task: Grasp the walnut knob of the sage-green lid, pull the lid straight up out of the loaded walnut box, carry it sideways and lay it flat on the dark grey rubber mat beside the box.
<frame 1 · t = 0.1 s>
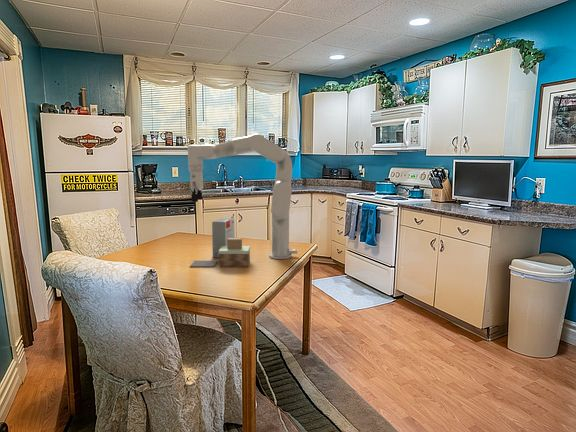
hand: (197, 200, 198), 31 cm above the table, tool pointing down, fingers open, 9 cm apart
crate: (235, 264, 188), on the table
lid: (234, 251, 187), point 7 cm above the table, touching crate
hard drive box: (224, 254, 208), on the table
mat: (204, 264, 188), on the table
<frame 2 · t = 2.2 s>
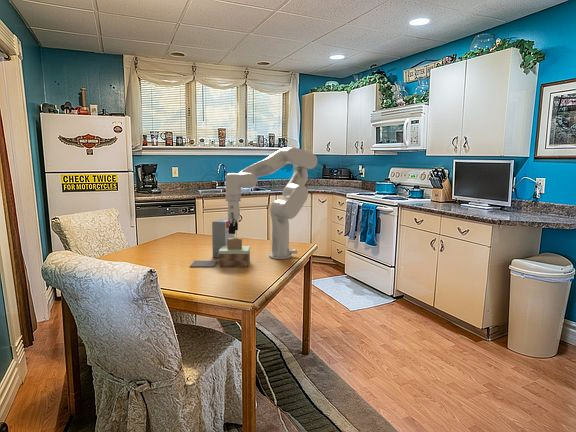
hand: (233, 231, 185), 17 cm above the table, tool pointing down, fingers open, 9 cm apart
nothing on the table moved.
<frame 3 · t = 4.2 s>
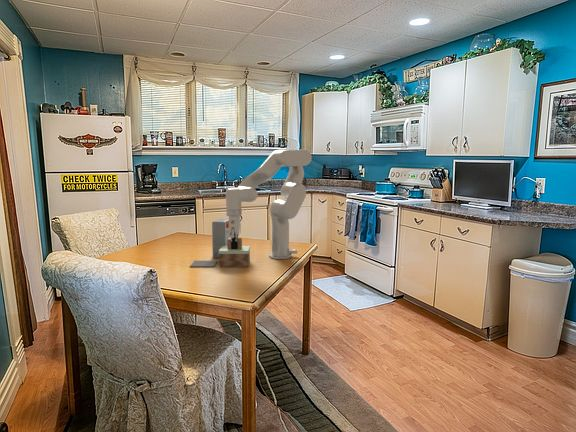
hand: (234, 247, 187), 9 cm above the table, tool pointing down, fingers closed on lid, 3 cm apart
lid: (234, 251, 187), point 7 cm above the table, touching crate, gripper
everything else where it was.
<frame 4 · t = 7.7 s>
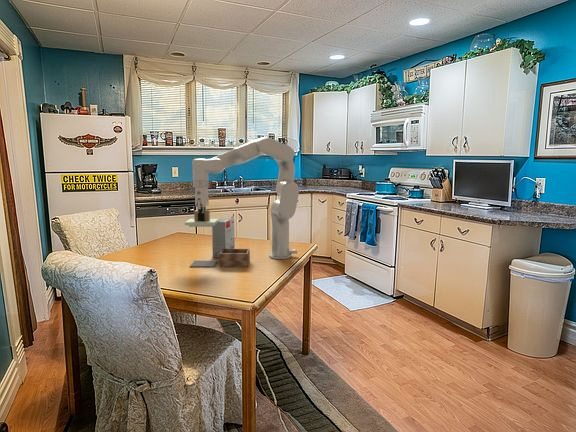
hand: (202, 220, 184), 23 cm above the table, tool pointing down, fingers closed on lid, 3 cm apart
lid: (202, 223, 185), point 21 cm above the table, touching gripper
everything else where it was.
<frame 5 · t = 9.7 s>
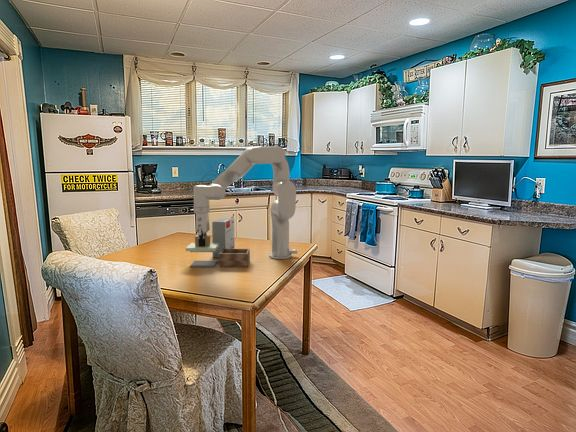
hand: (202, 245, 186), 10 cm above the table, tool pointing down, fingers closed on lid, 3 cm apart
lid: (202, 248, 187), point 8 cm above the table, touching gripper
everything else where it was.
when the fingers open (5 cm above the table, at t = 11.5 s): lid drops 2 cm, resting on mat.
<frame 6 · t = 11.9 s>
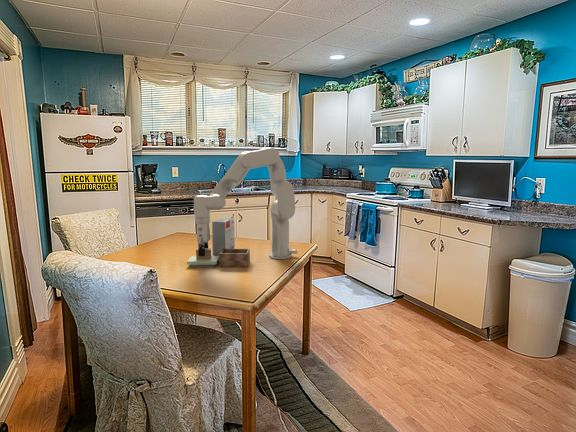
hand: (203, 253, 187), 6 cm above the table, tool pointing down, fingers open, 7 cm apart
lid: (204, 261, 188), point 2 cm above the table, touching mat
everything else where it was.
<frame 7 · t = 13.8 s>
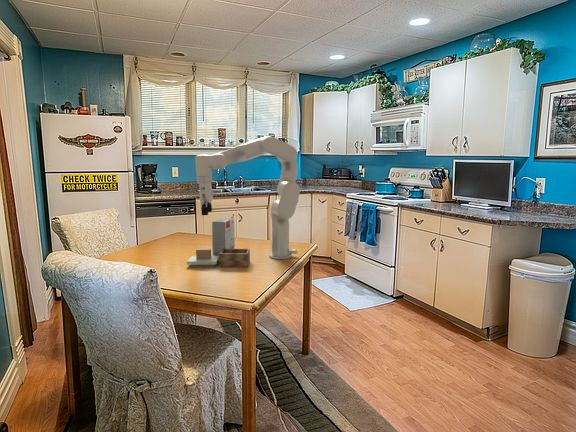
hand: (206, 213, 186), 26 cm above the table, tool pointing down, fingers open, 9 cm apart
nothing on the table moved.
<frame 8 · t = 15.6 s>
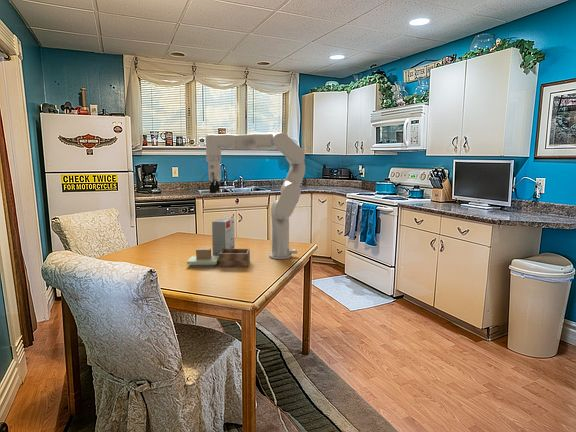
hand: (214, 192, 191), 36 cm above the table, tool pointing down, fingers open, 9 cm apart
nothing on the table moved.
at the end: lid inside the target area on the mat (0.1 cm from its centre), point 1.6 cm above the mat's base; lid tilted 0°; lid touching mat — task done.
